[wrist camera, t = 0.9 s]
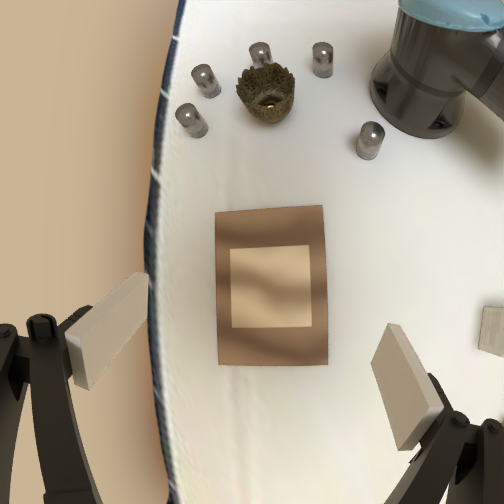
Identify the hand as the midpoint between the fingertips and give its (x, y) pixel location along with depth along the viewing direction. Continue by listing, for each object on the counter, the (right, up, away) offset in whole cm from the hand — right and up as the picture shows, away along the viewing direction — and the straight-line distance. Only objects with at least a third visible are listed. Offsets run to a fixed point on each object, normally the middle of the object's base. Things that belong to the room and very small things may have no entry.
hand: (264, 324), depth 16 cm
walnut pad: (+2, -1, +23) cm, 23 cm away
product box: (+34, -7, +17) cm, 38 cm away
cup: (+3, +24, +26) cm, 36 cm away
